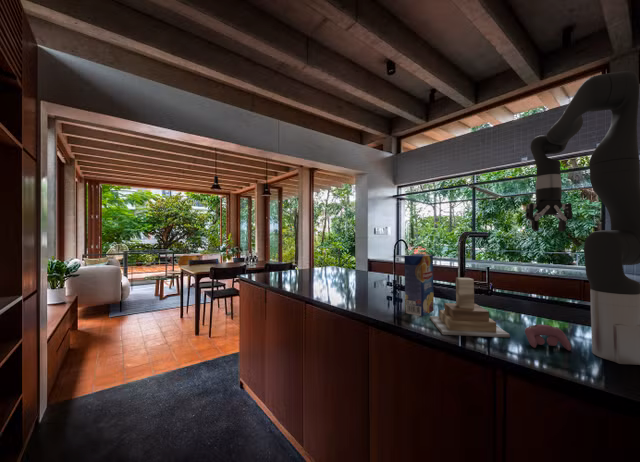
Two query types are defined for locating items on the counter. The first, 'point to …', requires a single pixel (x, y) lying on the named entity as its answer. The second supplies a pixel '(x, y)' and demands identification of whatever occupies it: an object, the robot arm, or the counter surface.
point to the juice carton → (419, 284)
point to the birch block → (465, 293)
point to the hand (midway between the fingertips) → (548, 231)
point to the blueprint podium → (466, 322)
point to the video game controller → (551, 332)
